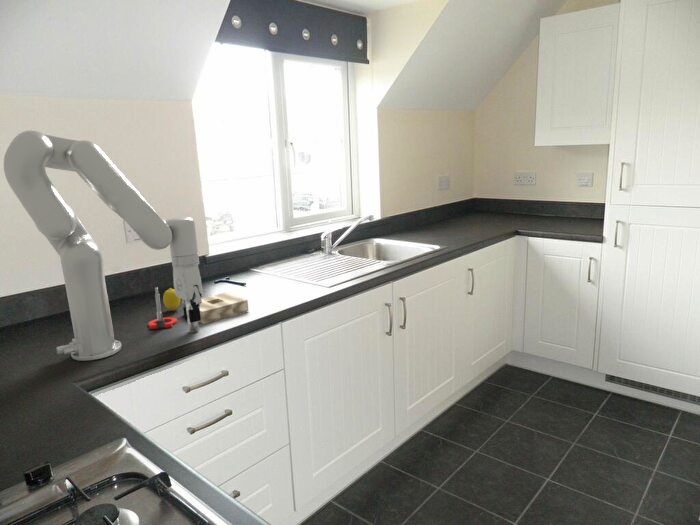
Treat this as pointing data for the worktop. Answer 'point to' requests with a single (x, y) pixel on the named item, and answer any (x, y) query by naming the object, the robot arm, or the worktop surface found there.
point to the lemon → (171, 299)
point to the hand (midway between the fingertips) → (192, 319)
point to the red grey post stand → (160, 316)
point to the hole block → (221, 307)
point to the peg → (192, 326)
